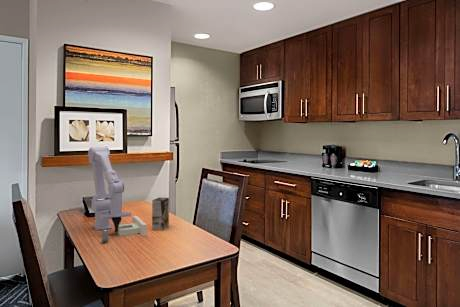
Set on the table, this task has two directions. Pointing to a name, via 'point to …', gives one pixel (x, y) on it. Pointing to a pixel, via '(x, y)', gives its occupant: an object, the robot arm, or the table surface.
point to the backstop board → (140, 225)
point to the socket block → (128, 229)
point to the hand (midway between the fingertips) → (116, 231)
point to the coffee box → (160, 213)
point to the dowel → (105, 236)
